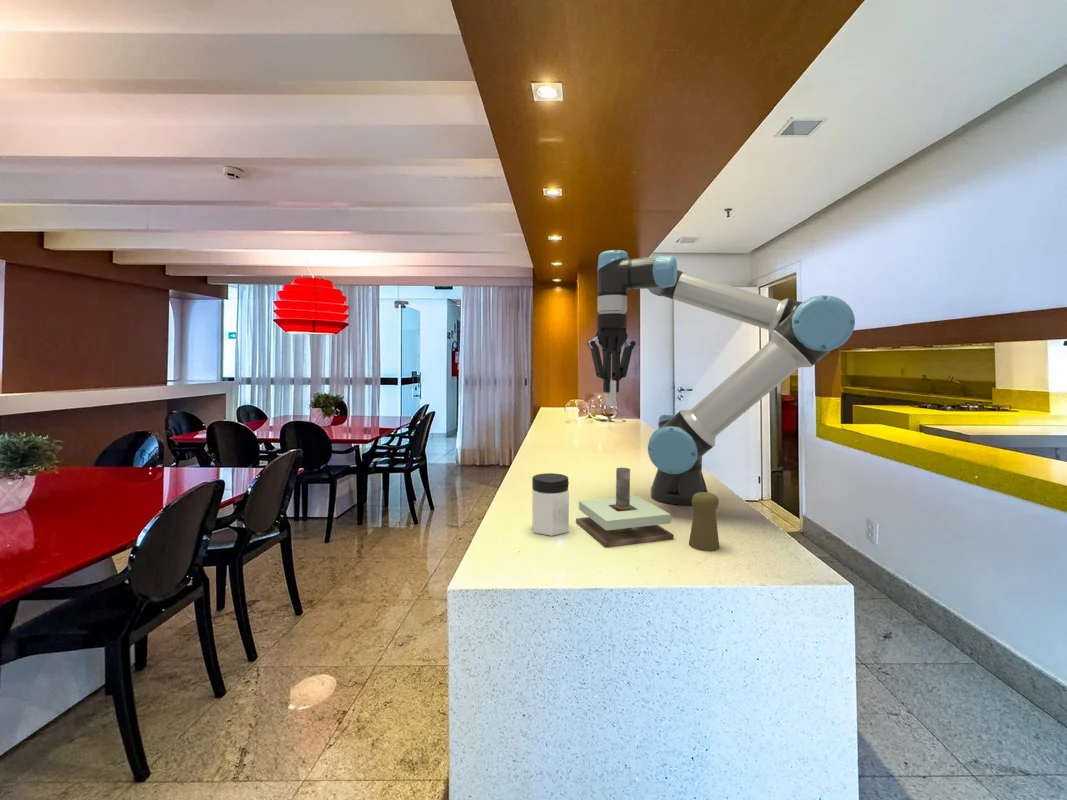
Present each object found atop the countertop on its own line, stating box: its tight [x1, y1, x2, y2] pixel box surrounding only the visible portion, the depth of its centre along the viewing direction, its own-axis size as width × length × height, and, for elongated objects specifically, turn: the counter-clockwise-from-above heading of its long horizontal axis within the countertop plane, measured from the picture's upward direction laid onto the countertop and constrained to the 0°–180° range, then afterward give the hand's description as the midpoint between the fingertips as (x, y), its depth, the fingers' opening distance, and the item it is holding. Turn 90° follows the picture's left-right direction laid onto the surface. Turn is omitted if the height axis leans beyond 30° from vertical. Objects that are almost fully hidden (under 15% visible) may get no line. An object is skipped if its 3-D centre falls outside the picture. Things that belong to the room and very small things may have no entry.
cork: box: [688, 491, 720, 552], centre depth 101 cm, size 6×6×11 cm
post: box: [575, 467, 674, 548], centre depth 110 cm, size 16×16×14 cm
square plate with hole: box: [578, 495, 672, 531], centre depth 110 cm, size 15×15×2 cm
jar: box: [531, 472, 570, 537], centre depth 111 cm, size 9×8×12 cm
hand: (610, 405), depth 128 cm, fingers closed
